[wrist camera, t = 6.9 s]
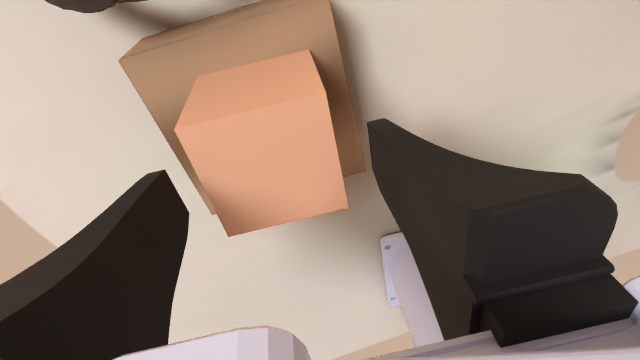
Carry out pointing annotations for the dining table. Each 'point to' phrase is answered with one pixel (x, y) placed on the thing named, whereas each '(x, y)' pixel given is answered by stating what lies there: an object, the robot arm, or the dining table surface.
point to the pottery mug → (87, 4)
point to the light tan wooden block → (237, 50)
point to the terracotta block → (263, 143)
